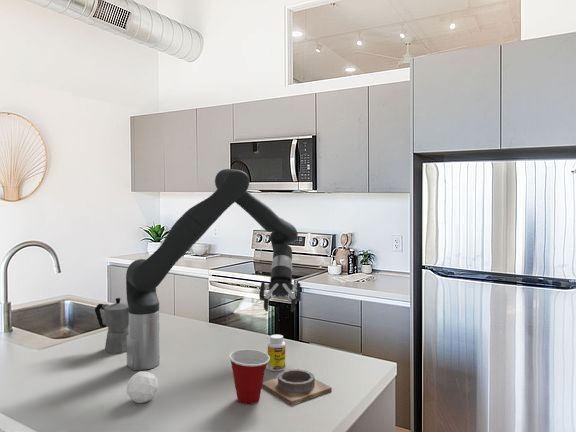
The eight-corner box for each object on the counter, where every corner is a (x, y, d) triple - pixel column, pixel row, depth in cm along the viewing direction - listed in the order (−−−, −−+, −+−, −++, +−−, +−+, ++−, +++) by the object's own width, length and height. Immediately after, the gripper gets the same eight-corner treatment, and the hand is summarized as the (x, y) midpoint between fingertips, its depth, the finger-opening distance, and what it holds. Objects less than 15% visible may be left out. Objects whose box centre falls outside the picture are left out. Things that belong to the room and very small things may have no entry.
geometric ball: (150, 411, 118) (161, 393, 114) (119, 405, 115) (129, 386, 111) (153, 387, 124) (164, 368, 121) (125, 380, 121) (134, 361, 118)
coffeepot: (142, 346, 160) (142, 295, 159) (128, 355, 150) (128, 302, 150) (103, 343, 163) (102, 293, 162) (87, 352, 153) (86, 299, 152)
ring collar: (291, 405, 116) (291, 391, 116) (261, 386, 127) (261, 374, 127) (331, 391, 125) (331, 378, 124) (300, 374, 136) (300, 363, 136)
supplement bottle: (273, 373, 136) (273, 340, 136) (264, 367, 141) (264, 335, 141) (288, 369, 139) (289, 337, 139) (279, 363, 144) (279, 332, 144)
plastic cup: (264, 411, 113) (264, 364, 112) (223, 407, 115) (223, 360, 114) (274, 392, 123) (274, 349, 123) (236, 389, 125) (236, 346, 125)
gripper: (261, 264, 160) (257, 304, 149) (301, 265, 159) (300, 305, 148) (262, 276, 165) (259, 315, 154) (301, 277, 164) (300, 316, 154)
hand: (279, 310), depth 151 cm, fingers open, 8 cm apart
